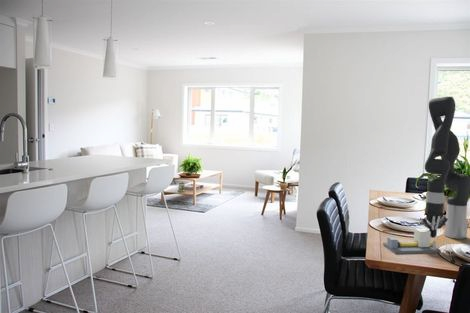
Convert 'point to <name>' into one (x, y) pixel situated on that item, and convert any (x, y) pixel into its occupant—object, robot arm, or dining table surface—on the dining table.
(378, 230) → the dining table surface
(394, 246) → the linear slide rail
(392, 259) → the dining table surface
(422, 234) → the sleeve
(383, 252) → the dining table surface
